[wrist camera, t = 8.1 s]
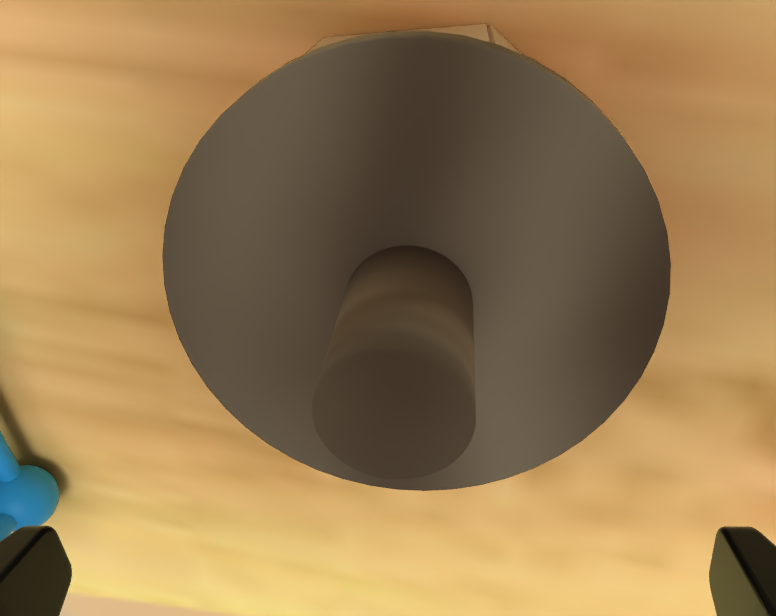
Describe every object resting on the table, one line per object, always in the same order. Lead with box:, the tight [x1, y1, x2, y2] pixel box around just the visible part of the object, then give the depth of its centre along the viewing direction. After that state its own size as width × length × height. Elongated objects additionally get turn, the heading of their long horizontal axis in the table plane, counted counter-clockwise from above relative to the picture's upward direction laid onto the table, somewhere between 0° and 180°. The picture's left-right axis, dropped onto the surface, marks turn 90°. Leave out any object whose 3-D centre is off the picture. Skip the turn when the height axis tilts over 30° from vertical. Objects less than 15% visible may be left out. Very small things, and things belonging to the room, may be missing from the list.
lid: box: [163, 31, 671, 491], centre depth 14 cm, size 11×11×5 cm
